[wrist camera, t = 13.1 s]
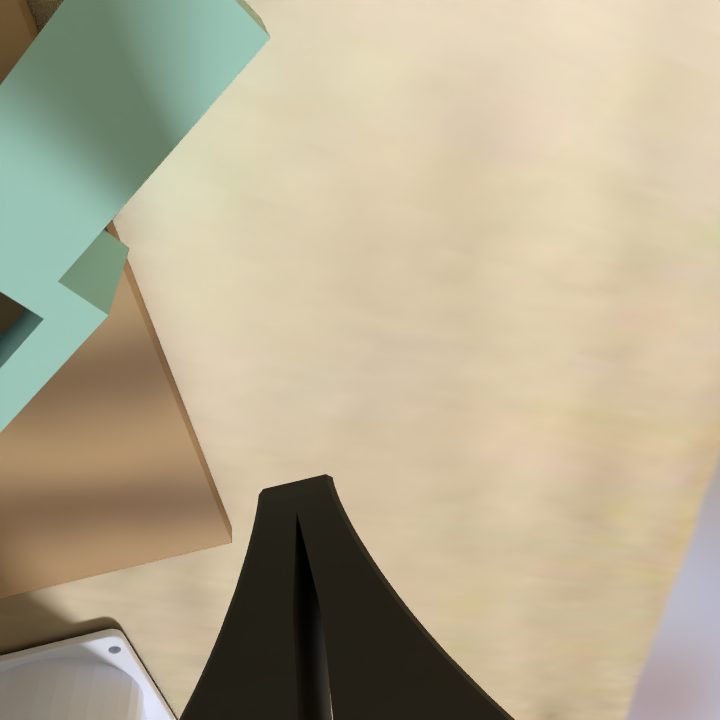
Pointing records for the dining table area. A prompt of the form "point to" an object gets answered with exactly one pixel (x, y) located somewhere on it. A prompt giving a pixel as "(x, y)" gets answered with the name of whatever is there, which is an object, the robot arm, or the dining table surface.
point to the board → (99, 441)
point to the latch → (95, 156)
